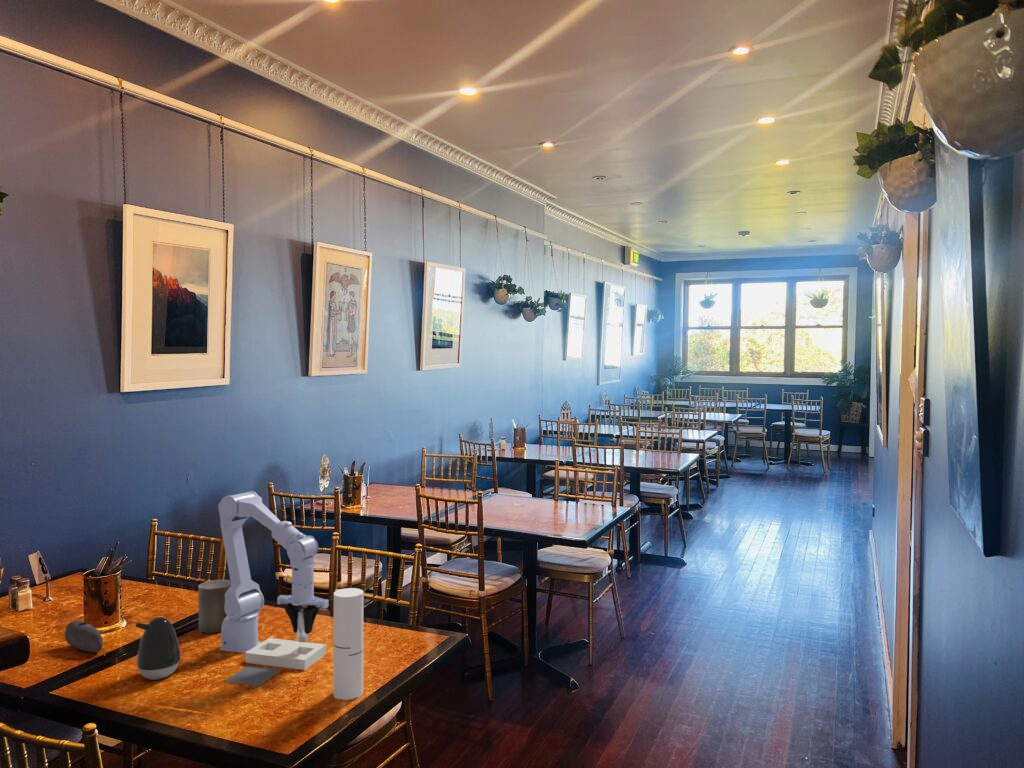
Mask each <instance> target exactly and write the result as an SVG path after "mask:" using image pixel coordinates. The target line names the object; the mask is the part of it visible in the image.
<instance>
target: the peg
mask: <svg viewBox="0 0 1024 768" xmlns="http://www.w3.org/2000/svg"><path fill="white" fill-rule="evenodd" d="M303 609H304V608H302V609H300V610H298V611H297V632H296V641H297V642H308V641H309V634H306V633H305V618H304V614H303Z"/></svg>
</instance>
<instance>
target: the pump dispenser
mask: <svg viewBox="0 0 1024 768" xmlns="http://www.w3.org/2000/svg"><path fill="white" fill-rule="evenodd" d="M135 627H136V628H139V629H141V630H144V631H143V633H142V635H141V638H140V642H139V644H138V648H137V649H138V650H137V655H136V667H137V668H138V671H139V673H140V675H141V676H142V677H144V678H145V679H147V680H152V681H154V680H155V681H157V680H163V679H165V678H168V677H170V675H171V676H172V674H173V673H174V672H175V671H176V670H177V668H178V665H179V663H180V660H181V658H182V657H181V647H180V642H179V638H178V636H177V633H176V630H175V628H174V626H173V624H172V623H171V621H170V620H169V619H168V618H166V617H165V616H158V617H154V618H152V619H151V620H150V621H149V622H148V623H143V622H136V624H135Z"/></svg>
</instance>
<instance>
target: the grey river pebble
mask: <svg viewBox="0 0 1024 768" xmlns="http://www.w3.org/2000/svg"><path fill="white" fill-rule="evenodd" d="M64 638H65V639H64V640H65V641H66V642H67V643H68V644H69V645H70V646H71V647H73V648H74V649H75V650H76V649H77V650H80V651H83V652H87V653H99V652H100V651H101V650H102V649H103V646H104V639H103V637H102V635H101V633H100V631H99V630H98V629H97V628H95V627H94V626H93V625H92V624H90V623H88V622H86V621H83V620H74V621H73V620H72V621H71V622H69V623H68V624H67V625H66V627H65V634H64Z"/></svg>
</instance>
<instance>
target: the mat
mask: <svg viewBox="0 0 1024 768" xmlns="http://www.w3.org/2000/svg"><path fill="white" fill-rule="evenodd" d="M281 671H282V669H281V668H271V667H265V666H264V667H263V666H256V665H250V664H249V665H247V666H245V667H244V668H242V669H241V670H240V671H237V672H236V673H234V674H233V675H232V676H229V677H228V678H227V679H225V680H224V682H227V683H235V684H241V685H248V686H256V687H260V686H261V685H263V684H264V683H265V682H267V681H268V680H270V679H271V678H272V677H274V676H275V675H277V674H278V673H279V672H281Z"/></svg>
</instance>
